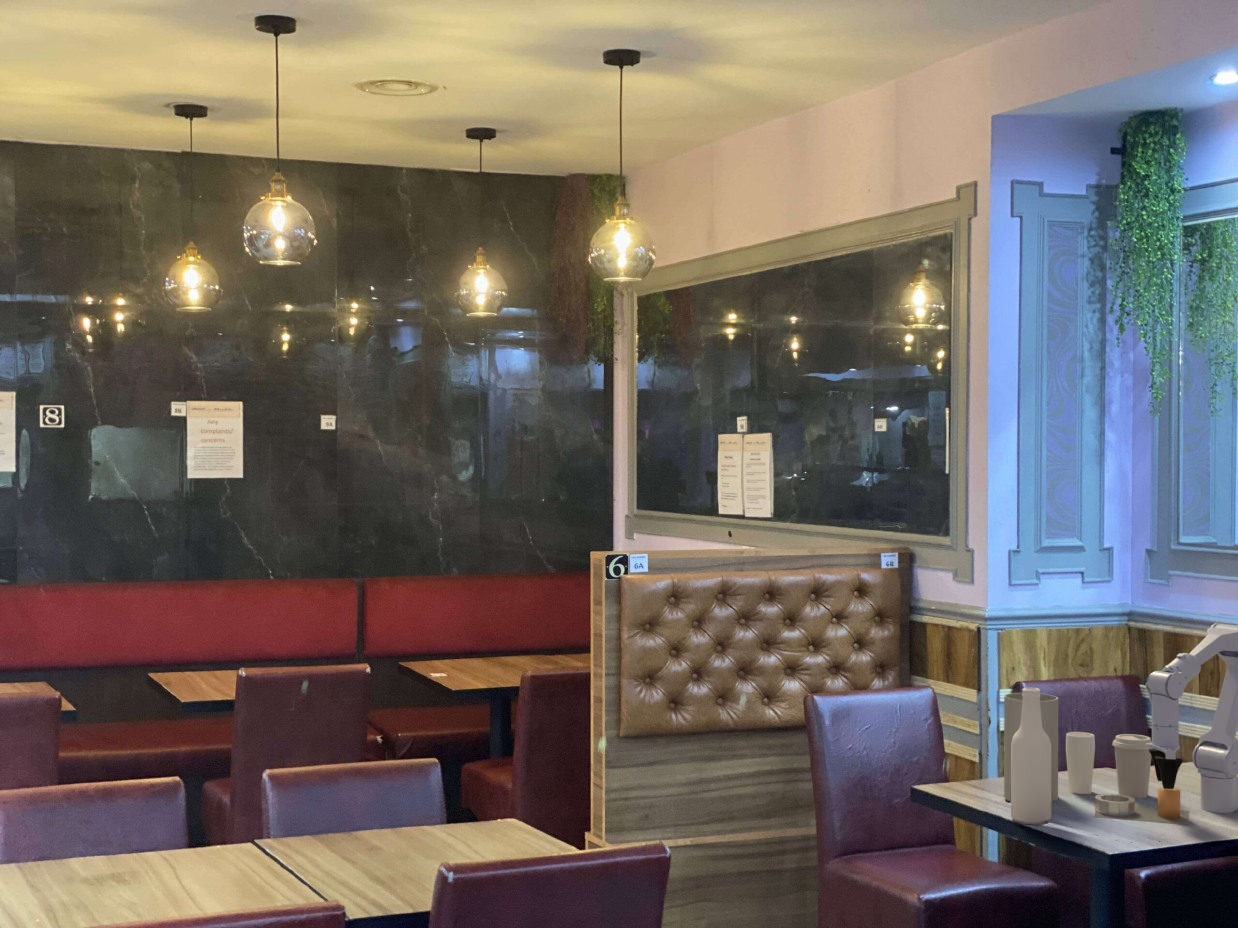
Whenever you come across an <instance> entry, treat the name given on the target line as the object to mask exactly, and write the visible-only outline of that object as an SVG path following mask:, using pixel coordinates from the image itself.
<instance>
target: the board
mask: <svg viewBox="0 0 1238 928" xmlns="http://www.w3.org/2000/svg"><path fill="white" fill-rule="evenodd" d="M1094 811H1095V810H1094ZM1189 813H1190V811H1189V810H1184V809H1180V818H1177V819H1169V818H1162V817H1159V816H1158V807H1148V806H1137V805H1135V814H1134V815H1130V816H1112V815H1105V814H1101V813H1098V812H1096V811H1095V812H1094V816H1093V817H1094V818H1104V819H1113V820H1114V819H1115V820H1125V821H1134V822H1135V821H1138V822H1145V823H1146V822H1149V823H1160V824H1169V825H1170V824H1172V825H1183V826H1189V824H1190V823H1189V822H1190V821H1189V818H1190V814H1189Z"/></svg>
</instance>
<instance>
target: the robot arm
mask: <svg viewBox="0 0 1238 928" xmlns="http://www.w3.org/2000/svg"><path fill="white" fill-rule="evenodd" d="M1216 655H1218V657H1219V659H1221V660H1222V661H1223V662H1225V664H1226V666H1227V667H1226V671H1225V675H1224V678H1223V682H1222V686H1221V690H1220V694H1219V698H1218V701H1217V706H1216V708H1215V709H1216V710H1215V714H1214V717H1213V722H1212V725H1211V729H1210V730H1209V731H1207V732H1205V733H1203V734H1202V735H1200V736H1199V739H1198V743H1197V745H1195V747H1194V749H1193V751H1192V754H1191V755H1192V757H1191V759H1192V763H1193V765H1194V767H1195V769H1197V773H1198V774H1200V809H1201V810H1202V811H1206V812H1210V813H1219V814H1228V813H1229V814H1230V813H1233V812H1235V811H1237V810H1238V739H1237V737H1236V734H1237V731H1238V624H1226V623H1222V622H1215V623H1213V624H1212V625H1211V626H1210V627H1208V628H1207V631H1206V635H1205V637H1204V638H1203V639H1202V640H1201V641H1200V642H1199V643H1198V644H1197V645H1196V646H1195V647H1194V648H1193V649H1192V650H1191V651H1190V652H1189V653H1187V652H1183V653H1181V652H1180V653H1178V654H1177V655H1176V658H1174V659H1173V660H1172V661H1171V662H1169V663H1168V664H1166V665H1165V666H1164V667H1163V668H1162V669H1161V670H1155V671H1153V672H1151V673H1150V674H1149V675H1148V677H1147V678H1146V682H1145V685H1144V686H1145V689H1146V692H1147V694H1148V699H1149V702H1150V703H1151V742H1152V743H1146V746H1147V747H1151V748H1153V749H1149V752H1150V754H1151V760H1152V761H1153V766H1154V769H1155V770H1154V771H1155V775H1156V776H1155V777H1156V780H1157V781H1158V782H1161V785H1162V787H1163V788H1164V789H1174V788H1175V785H1176V781H1177V776H1178V772H1179V770H1180V767H1181V766H1182V764H1183V761H1184V760H1183V758H1177V752H1178V751H1179V750H1180V749H1181V747H1180V746H1181V745H1180V739H1179V738H1180V736H1179V735H1180V733H1179V732H1180V728H1179V727H1180V725H1179V724H1180V722H1179V721H1180V718H1179V713H1180V712H1179V704H1180V703H1179V702H1180V701H1179V698H1182V696H1184V695H1183V694H1184V692H1185V689H1186V687H1187V685H1188V683H1189V682H1191V681H1192V680H1193V679H1194V678H1196V676H1198V675H1199V674H1200V672H1201V671H1202V670H1201V669H1202V666H1201V665H1203V664H1204V663H1206V662H1207V661H1209V660H1210V659H1212V658H1213V657H1215V656H1216Z"/></svg>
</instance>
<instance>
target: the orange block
mask: <svg viewBox="0 0 1238 928" xmlns="http://www.w3.org/2000/svg"><path fill="white" fill-rule="evenodd" d="M1157 808H1158V816H1159V817H1162V818H1169V819H1177V818H1180V810H1181V789H1179V788H1175V787H1174V789H1164V788H1163V786H1161V787H1158V788H1157Z"/></svg>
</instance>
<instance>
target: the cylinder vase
mask: <svg viewBox="0 0 1238 928" xmlns="http://www.w3.org/2000/svg"><path fill="white" fill-rule="evenodd" d="M1022 694H1023V692H1012V693H1006V694H1004V696H1003V697H1004V699H1003V701H1004V703H1003V706H1004V707H1003V708H1004V709H1003V711H1004V712H1003V717H1004V719H1003V725H1004V726H1003V727H1004V728H1003V741H1004V742H1003V750H1004V751H1003V759H1004V760H1003V761H1004V762H1003V767H1004V768H1003V769H1004V770H1003V775H1004V776H1003V785H1004V787H1003V797H1004V798H1005V799H1006V801H1008V802H1009V803H1011V743H1012V739H1013V736H1014V734H1015V733H1016V732H1017V731H1018V730H1019V728H1020V725H1021V714H1022V701H1023V696H1022ZM1040 708H1041V720H1042V727H1043V730H1044V732H1045V733H1046V734H1047V735H1048V737H1049V738H1050V742H1051V803H1052V802H1056V801H1058V800H1059V697H1057V696H1055V695H1052V694H1046V693H1040Z"/></svg>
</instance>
